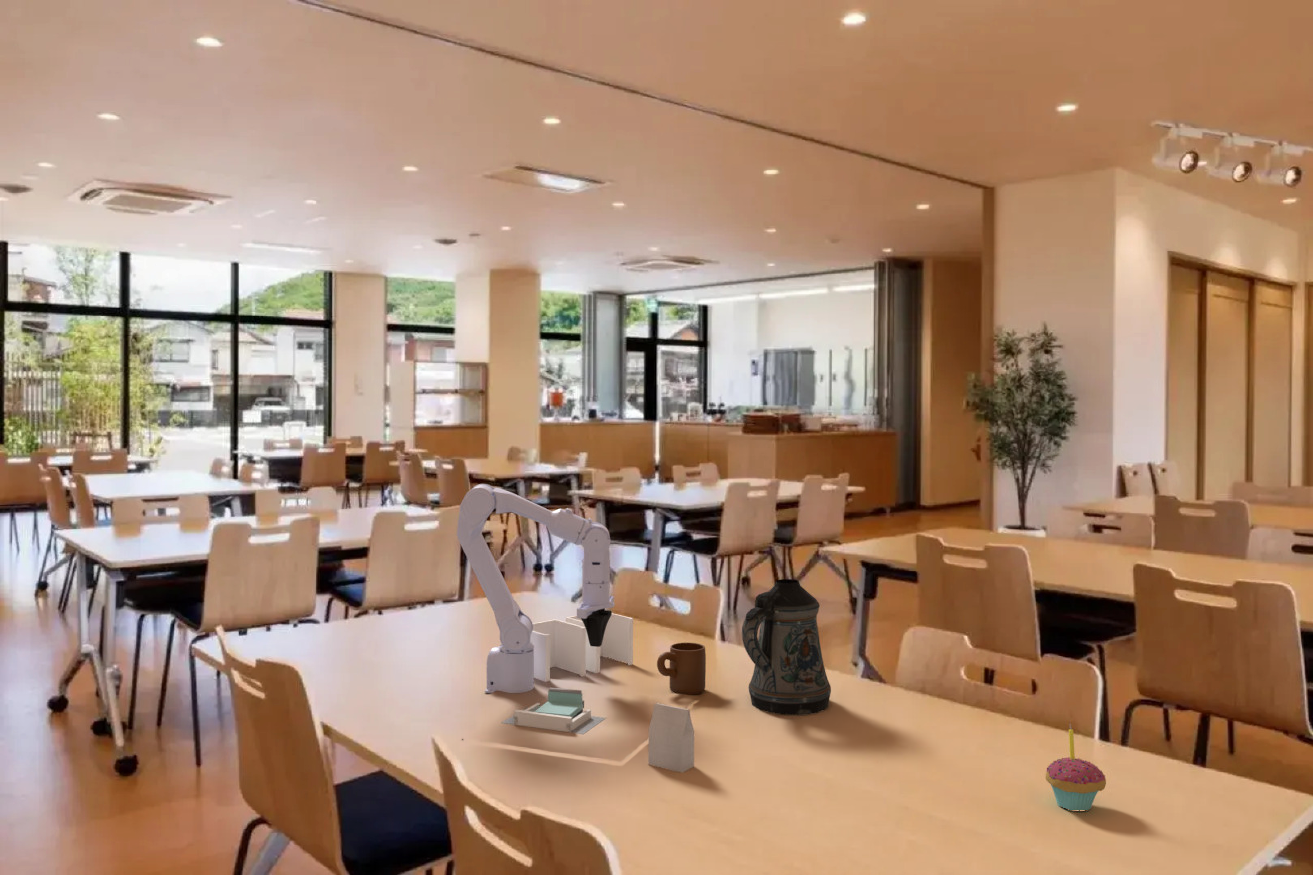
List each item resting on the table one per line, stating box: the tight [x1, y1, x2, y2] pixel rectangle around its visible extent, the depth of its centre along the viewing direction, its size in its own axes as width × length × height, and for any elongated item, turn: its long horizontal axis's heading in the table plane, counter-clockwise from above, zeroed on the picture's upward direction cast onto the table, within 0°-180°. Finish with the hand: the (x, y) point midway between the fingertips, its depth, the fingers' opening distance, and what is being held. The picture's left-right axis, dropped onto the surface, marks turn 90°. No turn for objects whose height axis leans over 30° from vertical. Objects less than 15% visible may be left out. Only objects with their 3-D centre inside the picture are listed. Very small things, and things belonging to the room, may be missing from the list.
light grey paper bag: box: [647, 702, 695, 773], centre depth 172 cm, size 4×7×10 cm, turn 56°
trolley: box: [534, 687, 585, 718], centre depth 194 cm, size 7×8×5 cm
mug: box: [656, 642, 707, 696], centre depth 213 cm, size 12×8×9 cm, turn 130°
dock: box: [501, 702, 606, 735], centre depth 193 cm, size 17×10×3 cm, turn 69°
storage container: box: [530, 612, 634, 683], centre depth 231 cm, size 25×11×11 cm, turn 133°
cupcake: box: [1045, 723, 1107, 811], centre depth 155 cm, size 9×8×12 cm
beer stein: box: [741, 578, 832, 716], centre depth 205 cm, size 16×19×25 cm
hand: (595, 645), depth 215 cm, fingers closed
